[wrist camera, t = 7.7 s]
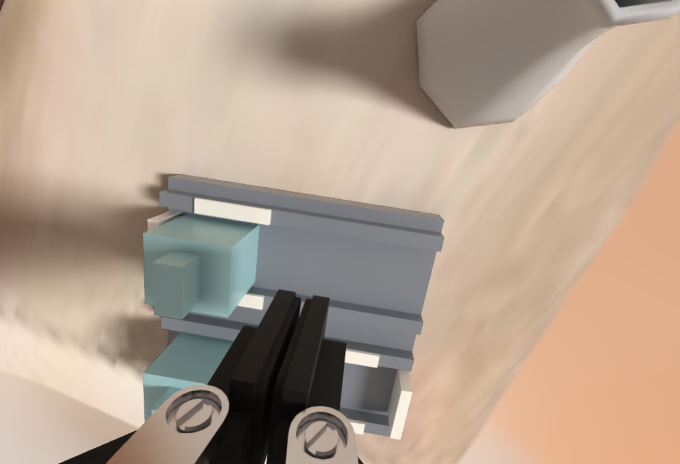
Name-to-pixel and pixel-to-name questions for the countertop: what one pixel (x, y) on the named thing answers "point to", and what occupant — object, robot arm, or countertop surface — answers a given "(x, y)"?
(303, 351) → the robot arm
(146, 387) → the tab
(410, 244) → the switch bank
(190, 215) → the tab
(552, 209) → the countertop surface
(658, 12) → the flask
